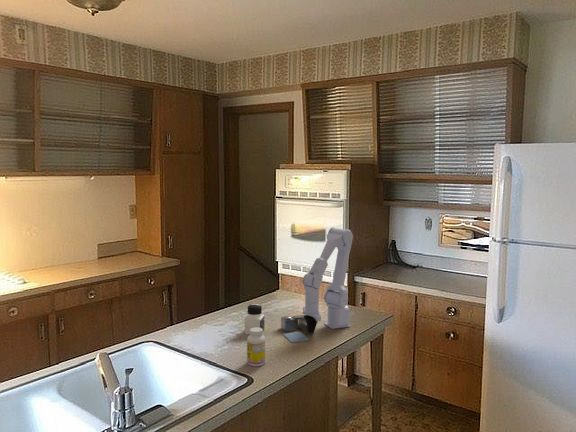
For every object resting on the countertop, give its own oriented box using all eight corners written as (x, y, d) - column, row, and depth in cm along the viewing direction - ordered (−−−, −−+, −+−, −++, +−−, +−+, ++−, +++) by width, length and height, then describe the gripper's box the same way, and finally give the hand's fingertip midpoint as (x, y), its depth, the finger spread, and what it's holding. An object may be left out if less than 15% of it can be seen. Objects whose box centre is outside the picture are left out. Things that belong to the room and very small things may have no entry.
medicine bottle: (260, 335, 205) (260, 308, 204) (244, 334, 207) (244, 307, 205) (264, 330, 212) (264, 303, 211) (248, 328, 214) (248, 302, 212)
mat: (300, 332, 210) (300, 331, 210) (309, 340, 200) (309, 339, 200) (282, 334, 207) (283, 333, 207) (291, 343, 198) (291, 342, 198)
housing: (309, 324, 220) (309, 312, 219) (313, 328, 215) (314, 315, 215) (281, 328, 215) (281, 315, 214) (285, 331, 210) (285, 319, 210)
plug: (302, 321, 223) (302, 314, 223) (314, 333, 209) (314, 324, 209) (295, 322, 222) (295, 315, 222) (306, 333, 208) (306, 325, 208)
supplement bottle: (247, 359, 181) (247, 326, 179) (264, 359, 181) (265, 326, 180) (247, 367, 174) (247, 332, 173) (265, 366, 175) (265, 332, 173)
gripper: (296, 297, 211) (296, 327, 212) (310, 307, 198) (309, 339, 199) (311, 296, 213) (311, 326, 215) (325, 305, 200) (325, 337, 202)
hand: (311, 332), depth 207 cm, fingers closed
